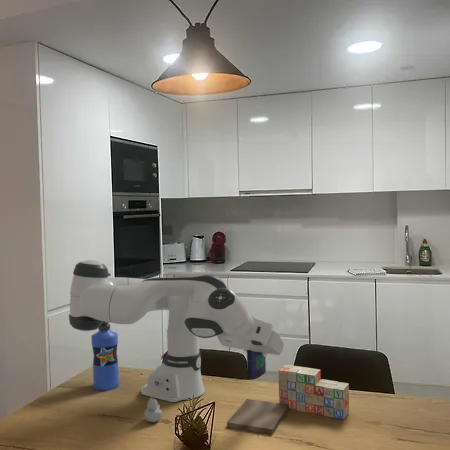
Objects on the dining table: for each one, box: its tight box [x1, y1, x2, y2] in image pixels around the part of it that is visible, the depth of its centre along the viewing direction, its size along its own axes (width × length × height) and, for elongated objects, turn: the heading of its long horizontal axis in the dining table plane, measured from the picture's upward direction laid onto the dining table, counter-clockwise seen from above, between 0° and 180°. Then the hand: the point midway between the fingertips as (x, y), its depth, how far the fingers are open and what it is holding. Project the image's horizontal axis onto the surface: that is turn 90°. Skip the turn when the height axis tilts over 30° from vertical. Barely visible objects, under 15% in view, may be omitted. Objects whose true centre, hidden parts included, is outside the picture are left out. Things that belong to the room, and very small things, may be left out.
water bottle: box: [91, 321, 120, 392], centre depth 178 cm, size 9×9×25 cm
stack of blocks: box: [277, 364, 350, 420], centre depth 154 cm, size 21×6×12 cm, turn 59°
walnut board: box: [226, 398, 290, 435], centre depth 149 cm, size 14×18×2 cm
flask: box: [246, 350, 267, 381], centre depth 148 cm, size 9×3×11 cm, turn 146°
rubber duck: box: [143, 397, 163, 423], centre depth 149 cm, size 5×7×8 cm
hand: (258, 353), depth 149 cm, fingers closed on flask, 3 cm apart
